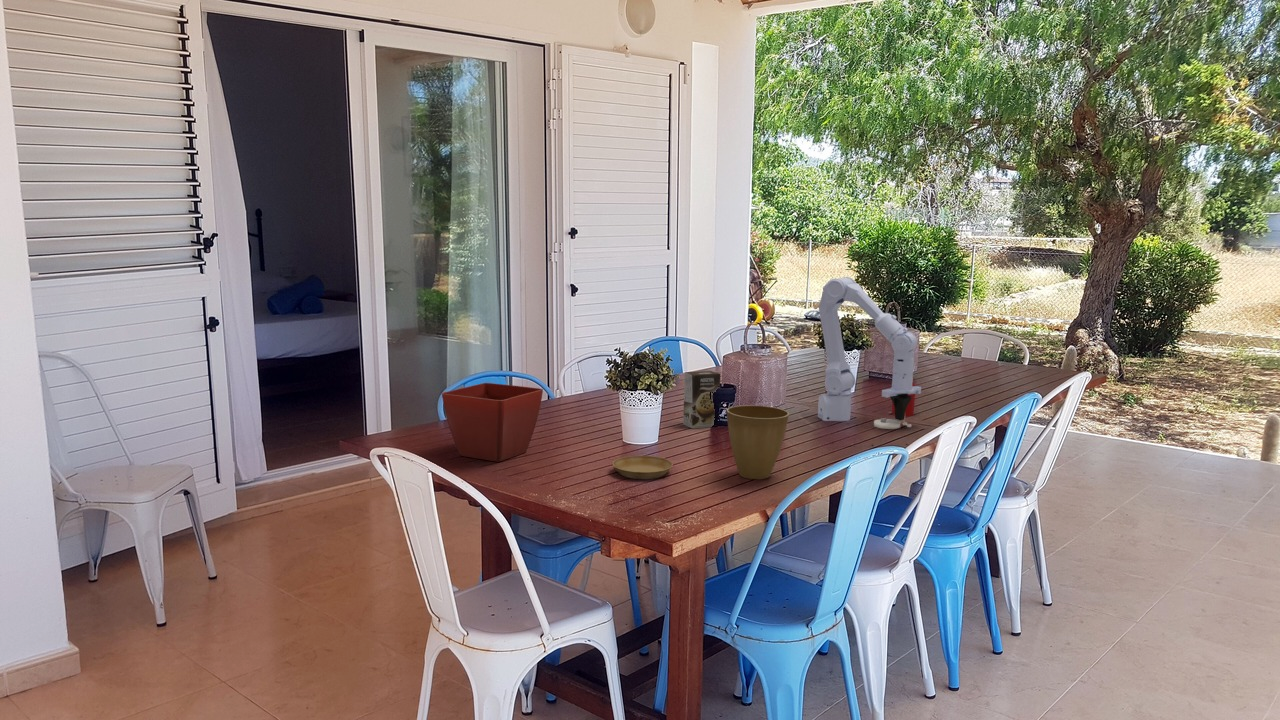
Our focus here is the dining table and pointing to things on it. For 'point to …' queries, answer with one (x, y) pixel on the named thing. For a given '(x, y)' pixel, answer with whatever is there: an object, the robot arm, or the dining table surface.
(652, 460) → the plant saucer
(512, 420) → the plant pot
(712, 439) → the dining table surface
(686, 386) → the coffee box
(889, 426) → the white lever switch
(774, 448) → the plant pot
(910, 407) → the beverage can
